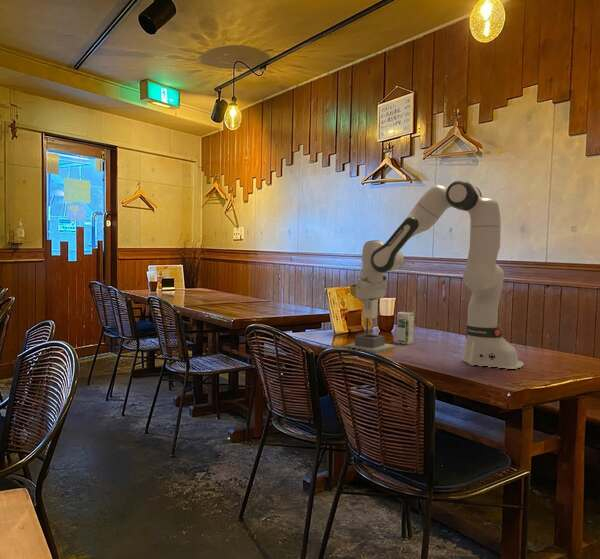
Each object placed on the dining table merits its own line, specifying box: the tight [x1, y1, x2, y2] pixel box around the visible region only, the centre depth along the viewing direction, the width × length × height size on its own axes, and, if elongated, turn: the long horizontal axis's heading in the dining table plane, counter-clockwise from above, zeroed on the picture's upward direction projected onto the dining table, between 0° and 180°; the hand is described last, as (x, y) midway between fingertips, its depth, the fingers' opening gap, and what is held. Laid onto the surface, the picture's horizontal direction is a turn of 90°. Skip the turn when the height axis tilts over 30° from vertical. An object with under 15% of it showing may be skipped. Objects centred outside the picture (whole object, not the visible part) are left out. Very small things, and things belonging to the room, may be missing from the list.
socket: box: [344, 333, 396, 353], centre depth 220 cm, size 16×16×5 cm
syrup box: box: [396, 311, 415, 346], centre depth 231 cm, size 6×6×14 cm
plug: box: [362, 298, 379, 319], centre depth 219 cm, size 4×4×9 cm
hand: (370, 308), depth 219 cm, fingers closed on plug, 4 cm apart
